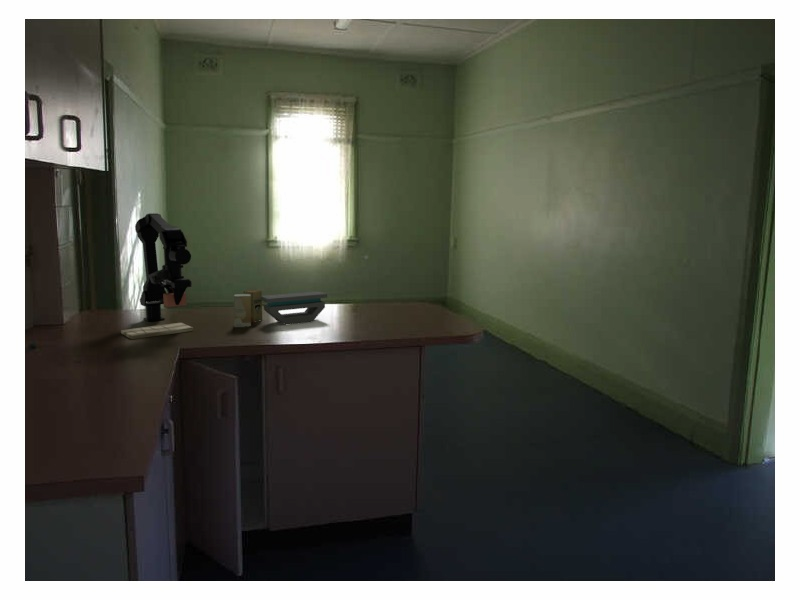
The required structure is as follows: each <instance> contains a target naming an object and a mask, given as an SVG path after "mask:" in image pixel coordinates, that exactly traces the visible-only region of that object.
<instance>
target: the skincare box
mask: <svg viewBox="0 0 800 600" xmlns="http://www.w3.org/2000/svg"><path fill="white" fill-rule="evenodd" d="M233 300H234V301H233V310H234V314H233V315H234V316H233V317H234V319H233V321H234V328H245V327H244V326H251V327H252V322H251V294H244V293H243V294H242V293H241V294H240V293H239V294H234V295H233Z"/></svg>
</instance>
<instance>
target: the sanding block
mask: <svg viewBox="0 0 800 600" xmlns="http://www.w3.org/2000/svg"><path fill="white" fill-rule="evenodd" d="M163 300H164V304H163V308H165V309H167V310H168V309H176V308H177V309H178V308H185V307H187V293H186V292H184V294H183V296H182V299H181V301H180V303H179V305H176V304H175V299H174V294H173V293H168V292H166V294H163Z"/></svg>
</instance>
